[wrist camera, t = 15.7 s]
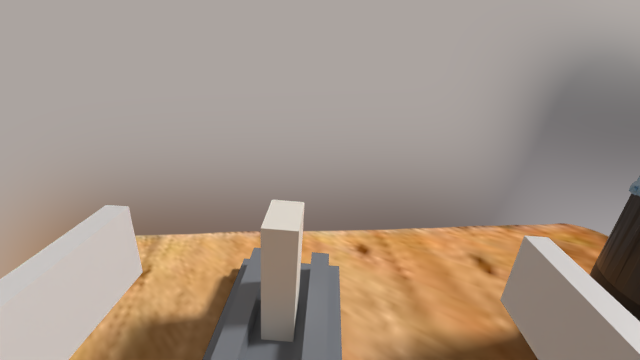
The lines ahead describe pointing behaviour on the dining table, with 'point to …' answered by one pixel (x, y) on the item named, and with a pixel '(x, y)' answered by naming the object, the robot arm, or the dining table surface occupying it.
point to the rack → (311, 322)
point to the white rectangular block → (281, 269)
